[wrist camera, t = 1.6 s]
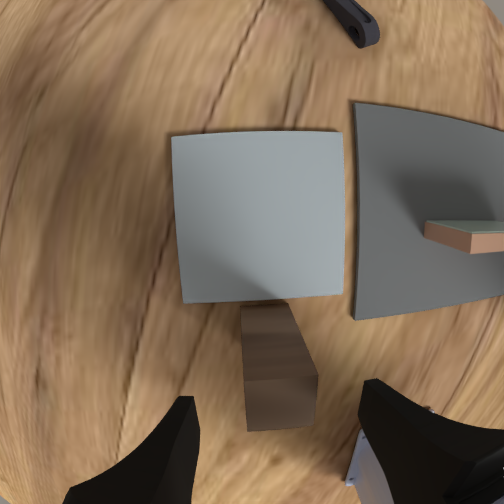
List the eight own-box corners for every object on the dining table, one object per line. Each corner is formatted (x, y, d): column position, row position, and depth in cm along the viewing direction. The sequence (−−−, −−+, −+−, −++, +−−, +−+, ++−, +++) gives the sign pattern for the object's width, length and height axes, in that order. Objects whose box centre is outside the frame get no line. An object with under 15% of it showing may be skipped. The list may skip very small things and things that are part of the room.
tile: (495, 235, 19) (538, 247, 14) (423, 237, 18) (470, 254, 14) (496, 220, 19) (540, 230, 14) (424, 220, 18) (472, 232, 13)
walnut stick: (287, 344, 20) (313, 425, 12) (242, 347, 20) (247, 431, 12) (287, 303, 19) (318, 374, 12) (240, 306, 19) (243, 381, 11)
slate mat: (514, 290, 21) (517, 291, 20) (352, 318, 20) (354, 320, 19) (522, 139, 18) (525, 139, 17) (352, 104, 17) (355, 102, 16)
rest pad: (340, 291, 19) (342, 294, 19) (184, 301, 19) (183, 303, 19) (340, 133, 17) (342, 132, 17) (172, 137, 17) (171, 136, 16)
